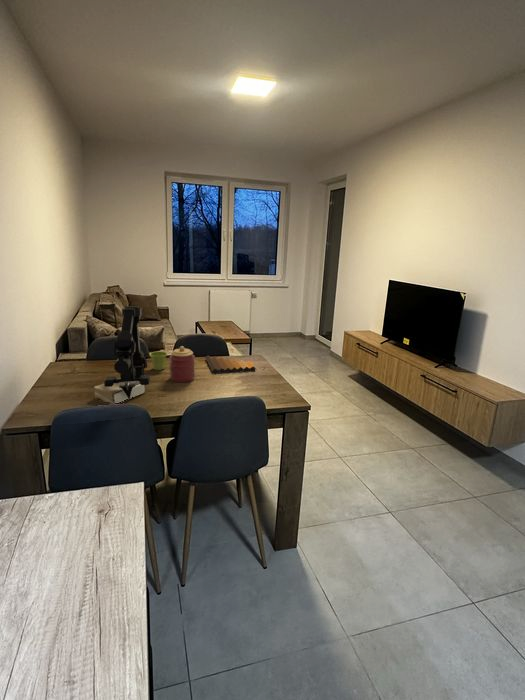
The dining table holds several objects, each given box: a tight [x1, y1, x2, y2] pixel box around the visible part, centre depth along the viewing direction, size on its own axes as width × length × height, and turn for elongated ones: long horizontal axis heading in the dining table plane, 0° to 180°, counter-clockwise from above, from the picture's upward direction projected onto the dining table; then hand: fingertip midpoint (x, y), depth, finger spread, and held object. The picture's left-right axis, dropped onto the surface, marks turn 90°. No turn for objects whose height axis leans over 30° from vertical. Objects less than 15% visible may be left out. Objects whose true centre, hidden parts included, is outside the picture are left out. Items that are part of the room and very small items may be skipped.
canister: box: [169, 345, 196, 383], centre depth 208 cm, size 13×13×18 cm
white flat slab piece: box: [114, 384, 146, 404], centre depth 182 cm, size 18×1×5 cm, turn 151°
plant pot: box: [149, 351, 168, 371], centre depth 223 cm, size 9×9×9 cm
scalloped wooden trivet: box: [204, 355, 256, 374], centre depth 234 cm, size 25×3×25 cm
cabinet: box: [93, 377, 139, 403], centre depth 186 cm, size 18×12×6 cm, turn 149°
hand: (129, 398), depth 179 cm, fingers closed
